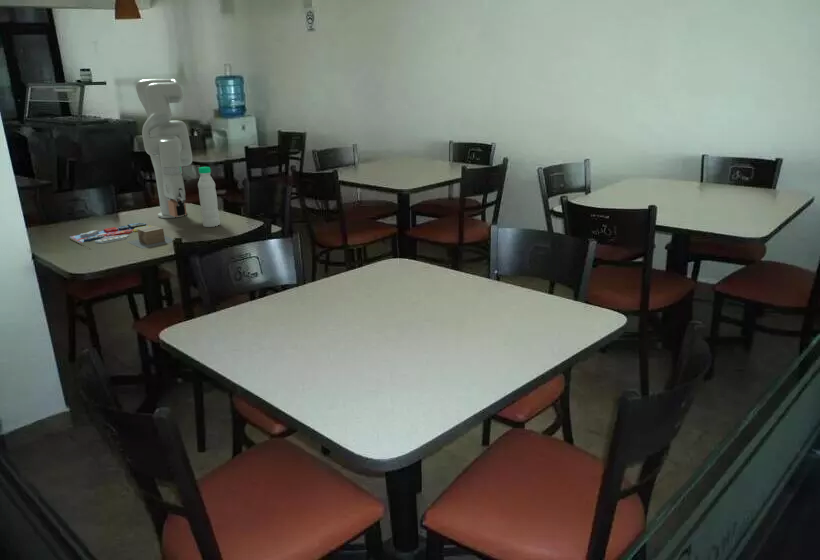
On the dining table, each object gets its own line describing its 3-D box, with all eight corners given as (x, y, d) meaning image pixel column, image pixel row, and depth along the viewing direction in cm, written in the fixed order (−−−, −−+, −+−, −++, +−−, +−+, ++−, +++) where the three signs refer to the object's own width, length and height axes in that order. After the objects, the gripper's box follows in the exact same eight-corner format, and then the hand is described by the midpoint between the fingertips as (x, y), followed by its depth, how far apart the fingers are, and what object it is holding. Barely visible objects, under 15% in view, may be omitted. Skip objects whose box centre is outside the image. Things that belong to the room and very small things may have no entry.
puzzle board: (90, 251, 233) (89, 244, 232) (69, 240, 248) (68, 234, 247) (168, 235, 253) (167, 229, 252) (144, 226, 268) (143, 220, 267)
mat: (127, 244, 238) (126, 241, 238) (162, 237, 248) (161, 234, 247) (142, 251, 229) (142, 248, 229) (178, 243, 238) (177, 240, 238)
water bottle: (217, 227, 261) (209, 168, 253) (200, 227, 261) (192, 168, 253) (222, 223, 268) (215, 165, 260) (206, 223, 268) (198, 166, 260)
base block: (139, 241, 238) (137, 229, 236) (157, 237, 243) (155, 225, 241) (147, 244, 233) (145, 232, 232) (165, 241, 238) (163, 228, 236)
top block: (169, 214, 256) (167, 200, 254) (181, 212, 259) (179, 198, 257) (175, 216, 253) (173, 202, 250) (186, 214, 256) (184, 200, 254)
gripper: (153, 168, 252) (160, 211, 259) (173, 174, 241) (179, 219, 248) (171, 165, 257) (177, 208, 264) (191, 172, 246) (196, 216, 253)
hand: (178, 213), depth 256 cm, fingers closed on top block, 4 cm apart
